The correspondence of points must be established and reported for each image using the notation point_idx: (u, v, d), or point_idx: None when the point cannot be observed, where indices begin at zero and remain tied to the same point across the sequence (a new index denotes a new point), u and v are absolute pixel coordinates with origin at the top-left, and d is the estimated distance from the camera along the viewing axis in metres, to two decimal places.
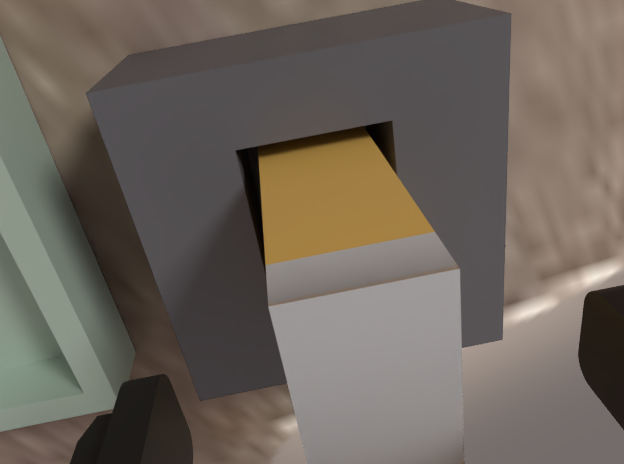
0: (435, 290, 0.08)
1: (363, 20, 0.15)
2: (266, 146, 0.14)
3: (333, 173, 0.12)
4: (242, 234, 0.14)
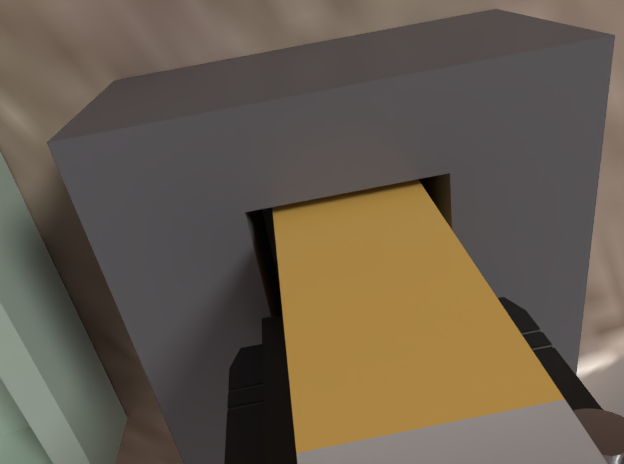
0: None
1: (406, 39, 0.12)
2: None
3: (380, 252, 0.09)
4: (253, 313, 0.11)
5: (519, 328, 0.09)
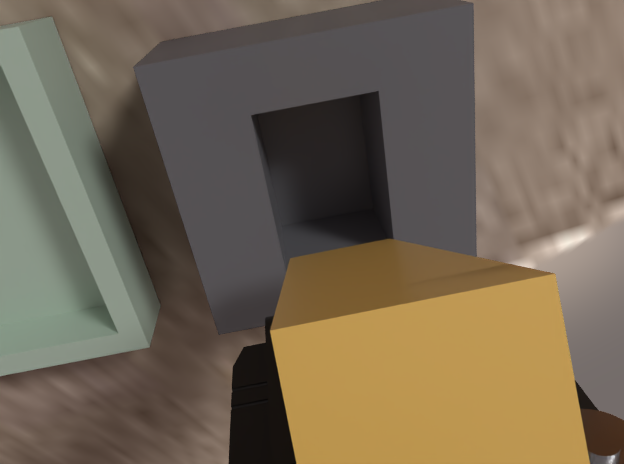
0: (523, 311, 0.05)
1: (357, 11, 0.18)
2: (297, 264, 0.13)
3: (372, 261, 0.10)
4: (256, 186, 0.17)
5: None
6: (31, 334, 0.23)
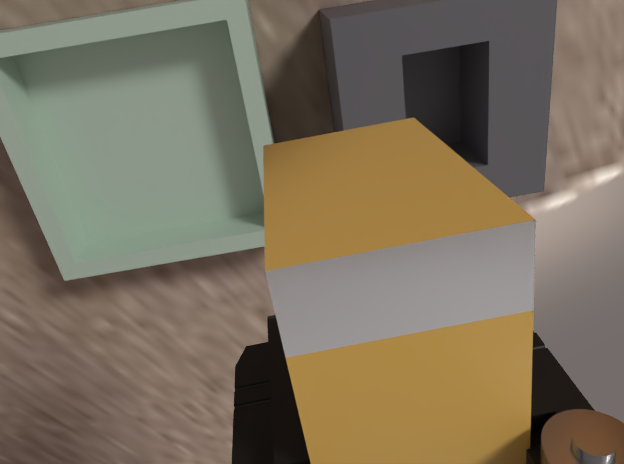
0: (397, 125, 0.10)
1: None
2: None
3: None
4: (397, 108, 0.24)
5: None
6: (199, 232, 0.30)
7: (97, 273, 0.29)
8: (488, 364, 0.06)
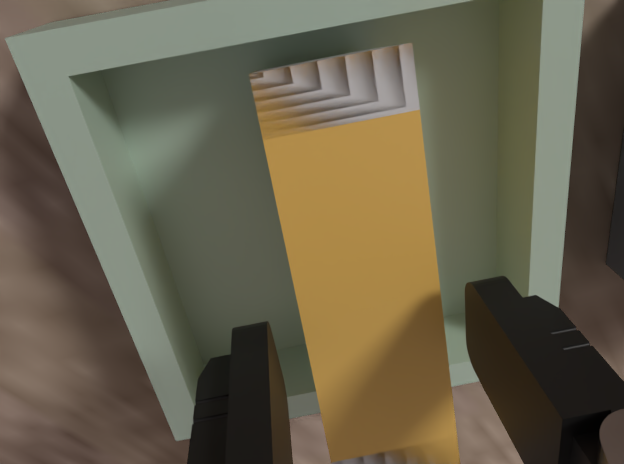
0: (351, 52, 0.14)
1: None
2: None
3: None
4: None
5: (554, 326, 0.09)
6: None
7: None
8: (395, 151, 0.10)
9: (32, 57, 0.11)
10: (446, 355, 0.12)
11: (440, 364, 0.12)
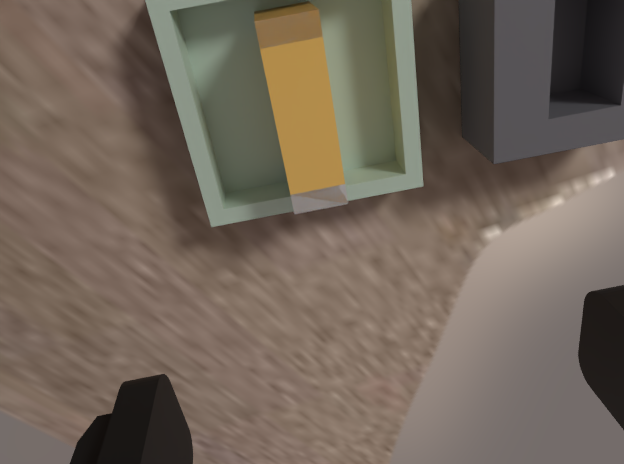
0: (301, 2, 0.28)
1: None
2: None
3: None
4: (545, 50, 0.26)
5: None
6: None
7: (242, 219, 0.31)
8: (313, 54, 0.25)
9: (154, 1, 0.25)
10: None
11: (336, 149, 0.27)
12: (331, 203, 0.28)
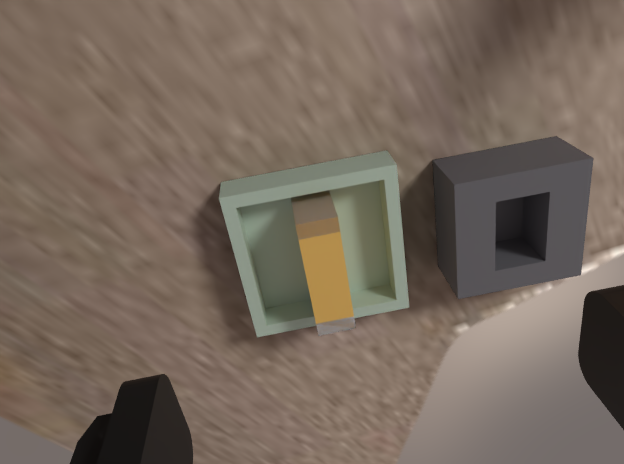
0: None
1: (532, 150, 0.39)
2: None
3: None
4: (491, 231, 0.39)
5: None
6: None
7: (279, 331, 0.43)
8: (333, 241, 0.37)
9: (226, 203, 0.37)
10: None
11: (348, 295, 0.39)
12: (344, 328, 0.41)
